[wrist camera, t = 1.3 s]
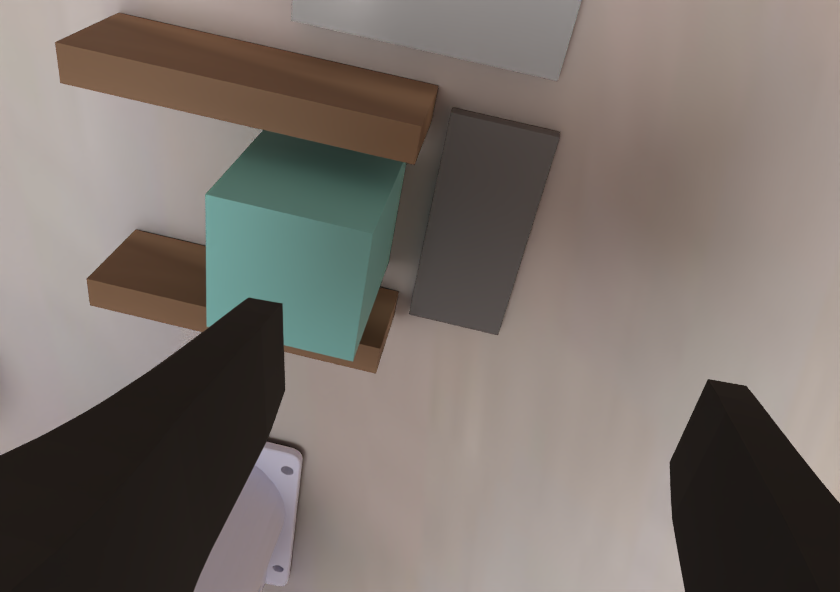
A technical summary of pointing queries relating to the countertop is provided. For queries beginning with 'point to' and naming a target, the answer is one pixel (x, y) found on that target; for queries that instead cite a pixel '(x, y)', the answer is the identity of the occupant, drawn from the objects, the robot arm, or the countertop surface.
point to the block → (303, 237)
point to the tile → (458, 28)
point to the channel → (246, 105)
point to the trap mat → (481, 218)
